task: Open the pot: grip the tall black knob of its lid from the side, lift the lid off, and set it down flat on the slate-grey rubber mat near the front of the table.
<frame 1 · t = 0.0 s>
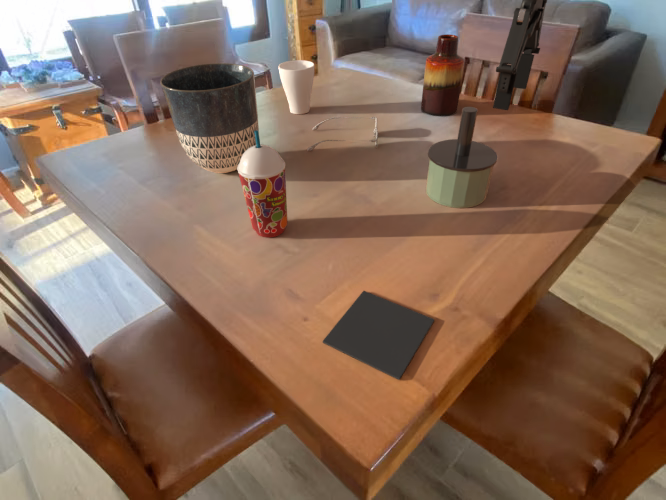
hand: (510, 97, 84), 18 cm above the table, tool pointing down, fingers open, 13 cm apart
mat: (379, 331, 62), on the table
cup: (299, 111, 132), on the table
eyeglasses: (343, 141, 114), on the table
smoothie: (270, 230, 83), on the table
lid: (461, 155, 87), point 8 cm above the table, touching pot
vase: (438, 110, 130), on the table
pot: (455, 192, 92), on the table
planter: (226, 167, 104), on the table
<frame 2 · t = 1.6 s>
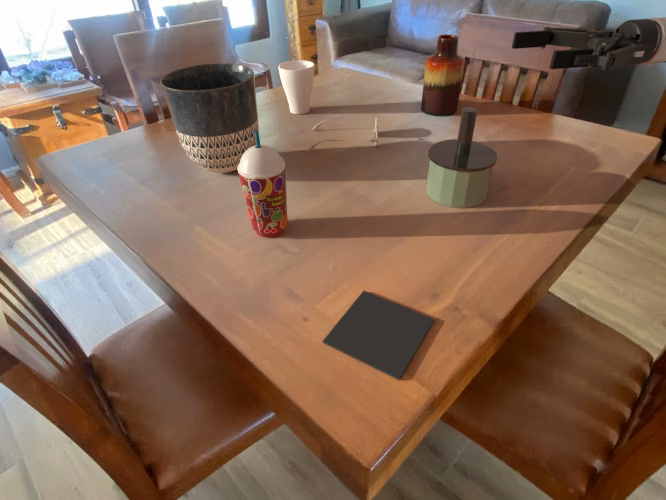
hand: (531, 49, 75), 28 cm above the table, tool horizontal, fingers open, 13 cm apart
nothing on the table moved.
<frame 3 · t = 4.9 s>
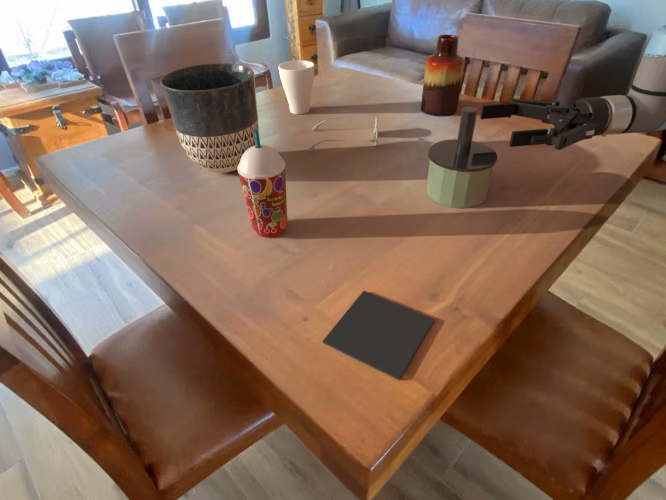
hand: (495, 124, 83), 15 cm above the table, tool horizontal, fingers open, 13 cm apart
nothing on the table moved.
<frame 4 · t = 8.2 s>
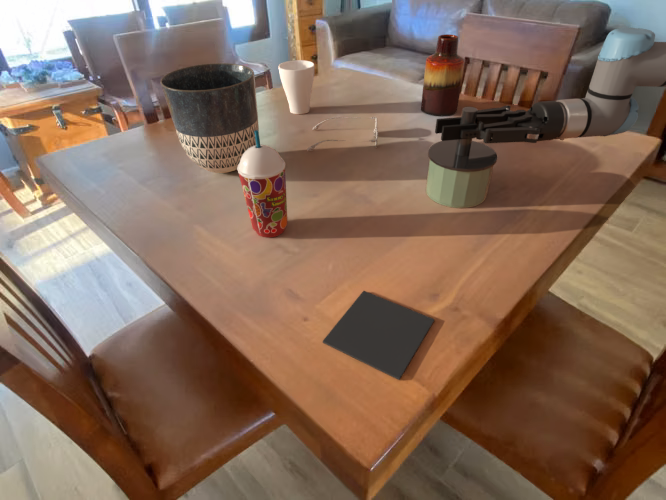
hand: (439, 129, 82), 14 cm above the table, tool horizontal, fingers closed on lid, 3 cm apart
lid: (461, 155, 87), point 8 cm above the table, touching gripper, pot
everything else where it was.
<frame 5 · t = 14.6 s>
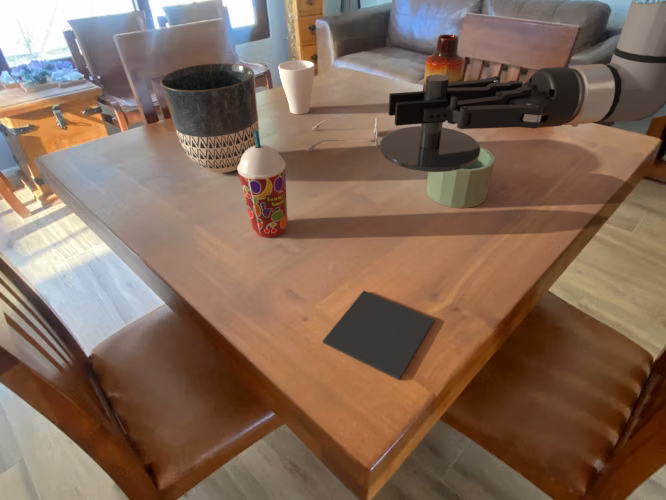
hand: (393, 109, 55), 28 cm above the table, tool horizontal, fingers closed on lid, 3 cm apart
lid: (428, 149, 59), point 22 cm above the table, touching gripper
everything else where it was.
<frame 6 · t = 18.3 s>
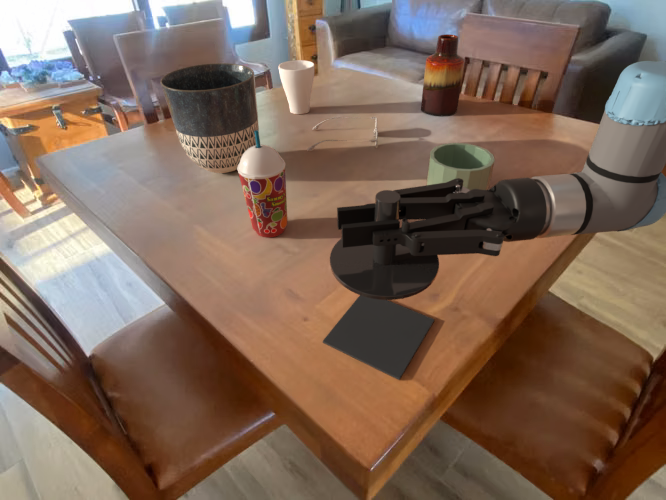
hand: (340, 227, 50), 19 cm above the table, tool horizontal, fingers closed on lid, 3 cm apart
lid: (383, 261, 54), point 13 cm above the table, touching gripper
everything else where it was.
when the fingers open (7 cm above the table, at t = 21.1 s): lid stays where it is, resting on mat.
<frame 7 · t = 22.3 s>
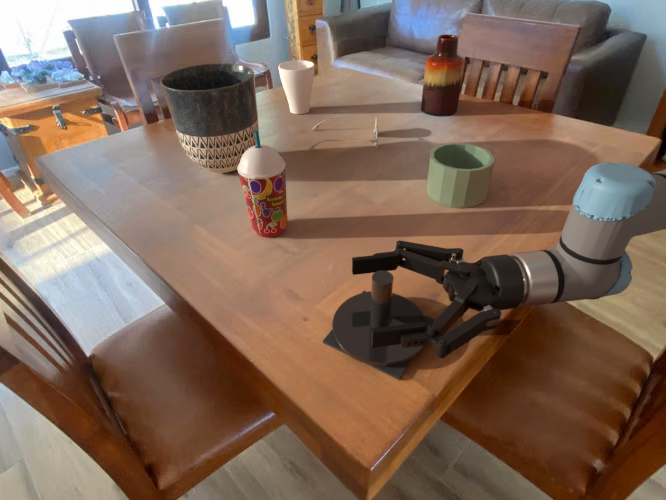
hand: (360, 299, 57), 7 cm above the table, tool horizontal, fingers open, 13 cm apart
lid: (379, 326, 61), point 1 cm above the table, touching mat
everything else where it was.
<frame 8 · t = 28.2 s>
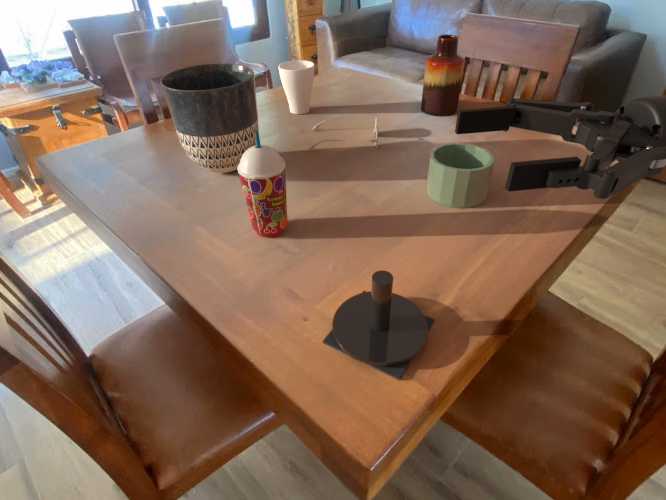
hand: (480, 146, 45), 28 cm above the table, tool horizontal, fingers open, 13 cm apart
nothing on the table moved.
at the end: lid 0.1 cm off-centre on the mat, point 1.0 cm above the mat's base; lid tilted 0°; the gripper is holding nothing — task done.
